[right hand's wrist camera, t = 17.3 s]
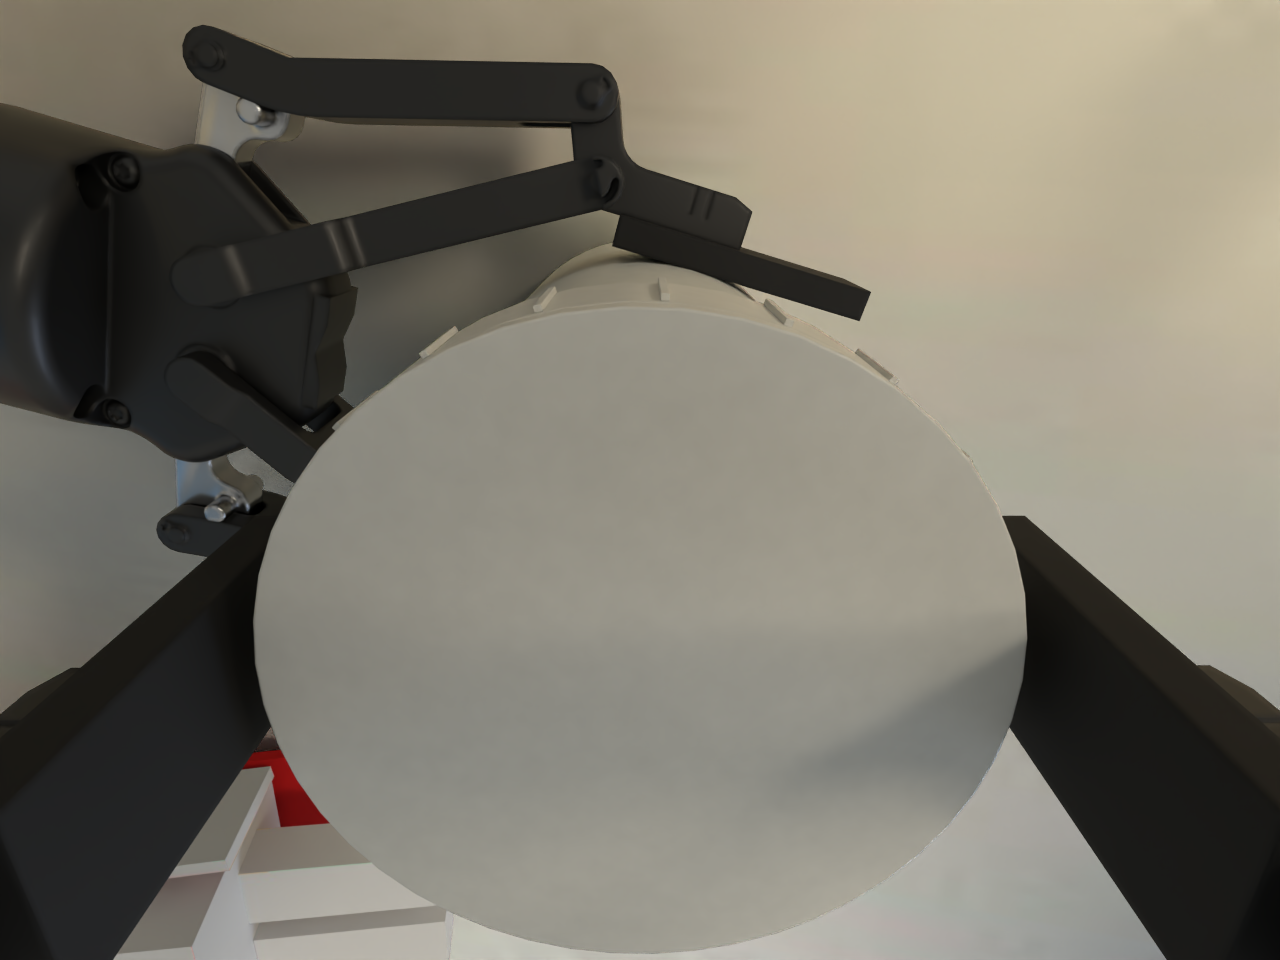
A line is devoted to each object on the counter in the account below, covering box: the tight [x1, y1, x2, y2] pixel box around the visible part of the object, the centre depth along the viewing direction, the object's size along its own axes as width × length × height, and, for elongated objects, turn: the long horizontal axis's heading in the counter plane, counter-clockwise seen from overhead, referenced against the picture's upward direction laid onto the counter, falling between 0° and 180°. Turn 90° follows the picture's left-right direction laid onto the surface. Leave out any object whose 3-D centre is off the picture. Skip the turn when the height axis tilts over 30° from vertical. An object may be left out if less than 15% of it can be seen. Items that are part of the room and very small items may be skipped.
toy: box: [113, 750, 454, 960], centre depth 30 cm, size 12×13×30 cm
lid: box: [253, 277, 1027, 954], centre depth 11 cm, size 11×11×2 cm
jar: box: [525, 243, 755, 301], centre depth 19 cm, size 10×10×18 cm
